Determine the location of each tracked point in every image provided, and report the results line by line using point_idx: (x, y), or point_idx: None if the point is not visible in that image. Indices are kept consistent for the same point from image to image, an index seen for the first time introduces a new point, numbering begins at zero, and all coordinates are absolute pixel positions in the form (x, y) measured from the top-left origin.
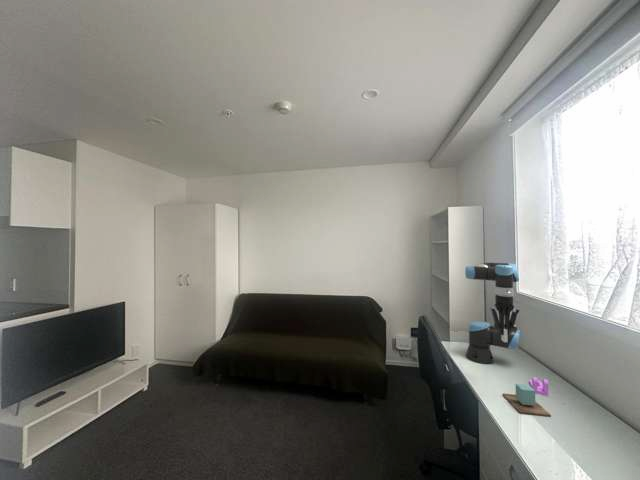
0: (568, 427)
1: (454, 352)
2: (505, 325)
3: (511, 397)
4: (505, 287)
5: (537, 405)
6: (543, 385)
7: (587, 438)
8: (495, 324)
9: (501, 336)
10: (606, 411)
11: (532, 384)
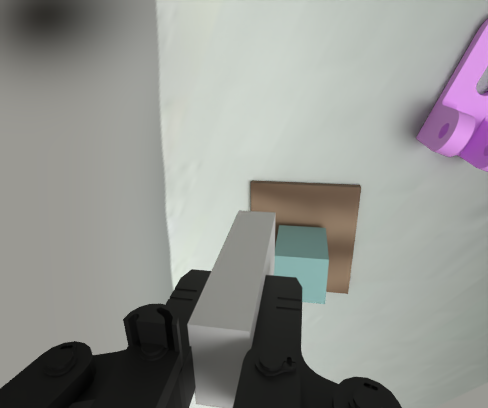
0: (362, 328)
1: None
2: (249, 405)
3: (272, 207)
4: None
5: (342, 247)
6: (484, 142)
7: (376, 361)
8: (27, 382)
9: (229, 232)
10: None
11: (440, 115)
